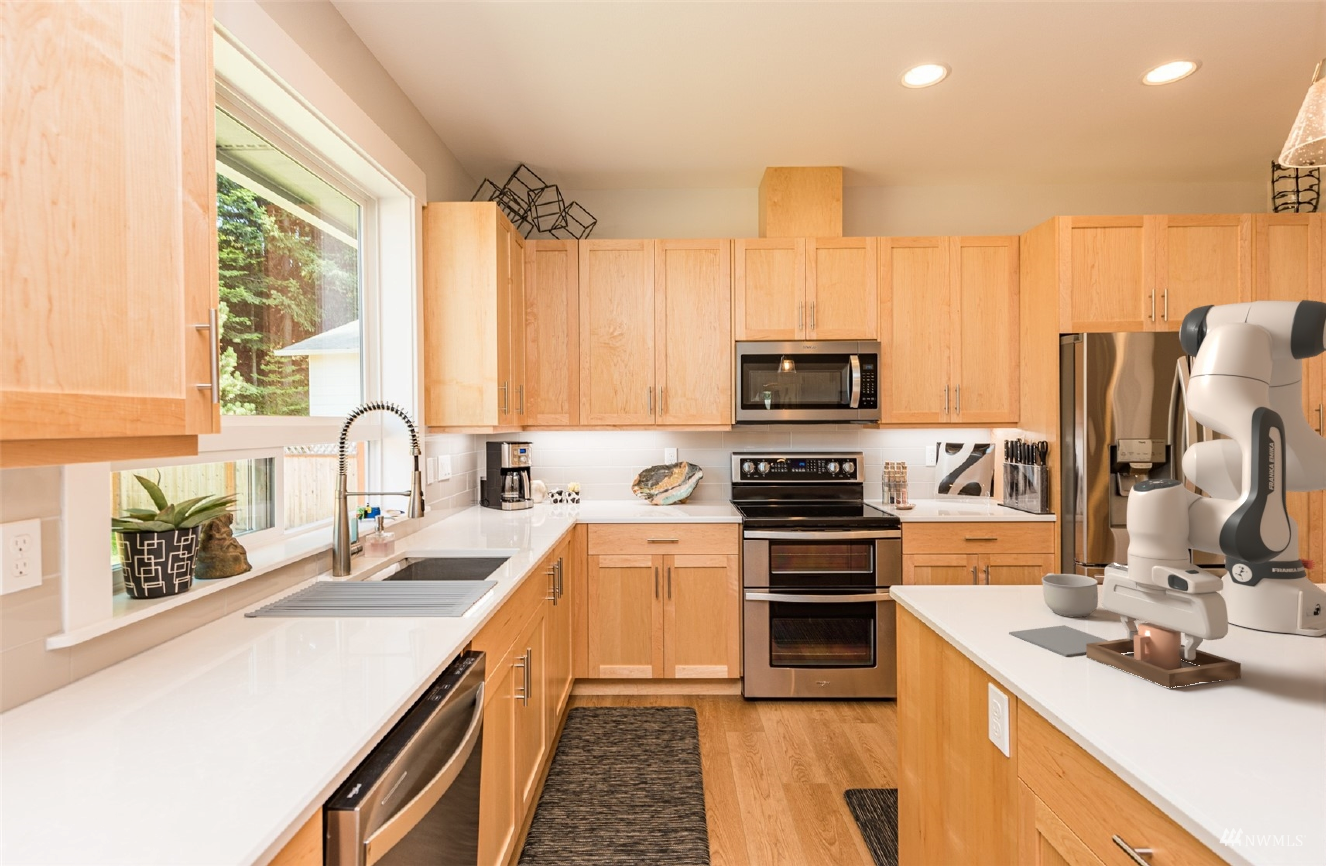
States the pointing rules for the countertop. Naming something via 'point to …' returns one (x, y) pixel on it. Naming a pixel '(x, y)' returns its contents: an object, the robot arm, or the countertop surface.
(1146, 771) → the countertop surface
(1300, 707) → the countertop surface
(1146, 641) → the mug
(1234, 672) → the tray
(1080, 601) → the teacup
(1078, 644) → the coaster
